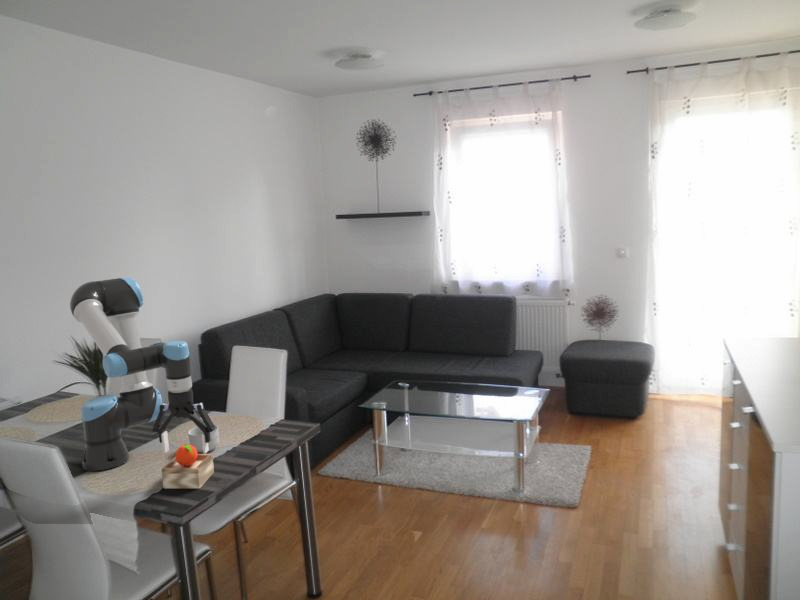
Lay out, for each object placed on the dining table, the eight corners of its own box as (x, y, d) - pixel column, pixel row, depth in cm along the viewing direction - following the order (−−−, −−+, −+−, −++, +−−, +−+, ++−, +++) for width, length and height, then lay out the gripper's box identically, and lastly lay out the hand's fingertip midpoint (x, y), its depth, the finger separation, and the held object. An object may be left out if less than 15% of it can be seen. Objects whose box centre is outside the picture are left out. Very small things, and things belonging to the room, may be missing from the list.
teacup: (211, 455, 226) (209, 434, 225) (184, 454, 228) (181, 433, 227) (229, 441, 240) (227, 421, 238) (203, 440, 242) (201, 420, 240)
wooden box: (163, 488, 202) (161, 469, 201) (180, 472, 213) (178, 454, 212) (199, 488, 200) (197, 469, 199) (214, 472, 212) (212, 453, 211)
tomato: (204, 465, 206) (202, 444, 205) (184, 472, 201) (182, 451, 200) (192, 458, 211) (190, 438, 210) (172, 465, 206) (170, 445, 205)
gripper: (137, 393, 199) (144, 456, 203) (212, 392, 197) (218, 456, 201) (148, 385, 207) (155, 446, 210) (221, 385, 204) (227, 447, 208)
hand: (186, 451), depth 206 cm, fingers open, 13 cm apart
